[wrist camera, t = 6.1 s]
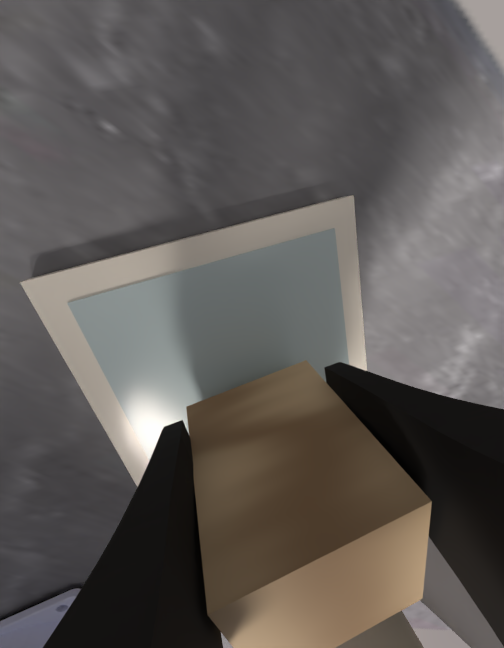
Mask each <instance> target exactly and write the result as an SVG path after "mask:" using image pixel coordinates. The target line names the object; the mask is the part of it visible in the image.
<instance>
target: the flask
mask: <svg viewBox="0 0 504 648" xmlns="http://www.w3.org/2000/svg"><path fill="white" fill-rule="evenodd" d="M420 601H421V602H422V603H424V604H425V605H426V606H427V607H428V608H429V609H430V610H431V611H433V612H434V613H435V614H436V615H437V616H438V617H439V618H440V619H441V620H442V621H443V622H444V623H445V624H446V625H447V626H448V627H450V628H451V629H452V630H453V631H454V632H455V633H456V634H457V635H458V636H459V637H460V638H461V639H462V640H463V641H464V642H465V643H467V644H468V645H469V646H470V647H471V648H504V647H503V645H502V643H501V642H500V640H499V639H498V637H497V636H496V634H495V633H494V631H493V630H492V628H491V626H490V625H489V623H488V622H487V620H486V619H485V618H484V616H483V615H482V613H481V612H480V610H479V609H478V607H477V606H476V604H475V603H474V601H473V600H472V598H471V597H470V595H469V594H468V592H467V591H466V589H465V588H464V586H463V585H462V583H461V582H460V580H459V579H458V578H457V576H456V575H455V573H454V572H453V570H452V569H451V568H450V566H449V565H448V563H447V562H446V560H445V559H444V558H443V556H442V555H441V553H440V552H439V550H438V549H437V548H436V546H435V545H434V543H433V542H432V540H431V539H430V538H429V536H428V546H427V557H426V567H425V577H424V588H423V598H422V599H421V600H420Z"/></svg>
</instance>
